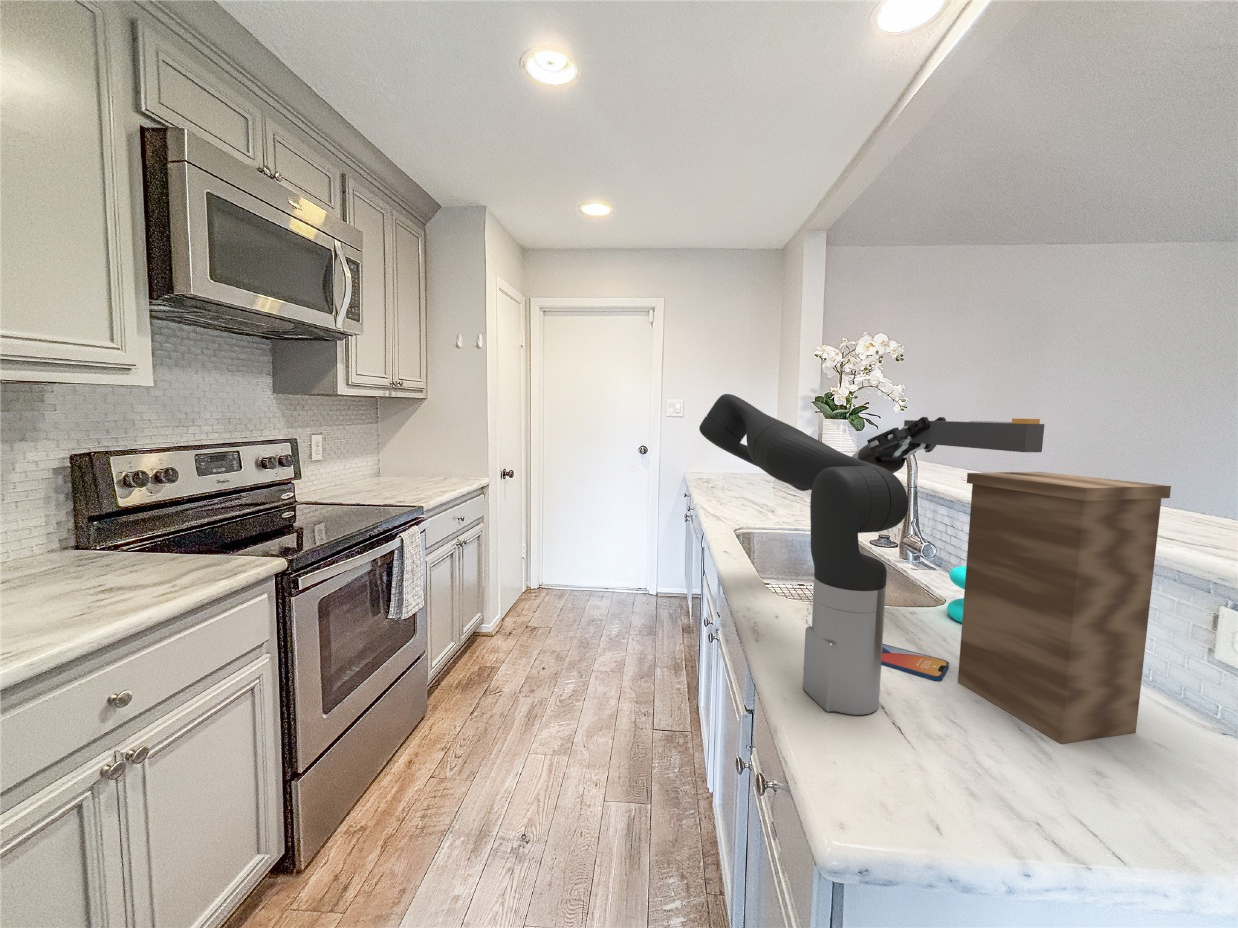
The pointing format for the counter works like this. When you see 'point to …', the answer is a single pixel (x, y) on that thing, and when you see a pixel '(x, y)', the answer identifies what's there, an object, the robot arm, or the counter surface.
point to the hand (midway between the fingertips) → (935, 421)
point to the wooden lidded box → (1059, 599)
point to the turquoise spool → (956, 605)
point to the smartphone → (914, 663)
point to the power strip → (985, 434)
